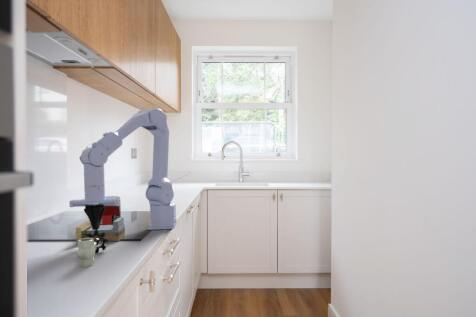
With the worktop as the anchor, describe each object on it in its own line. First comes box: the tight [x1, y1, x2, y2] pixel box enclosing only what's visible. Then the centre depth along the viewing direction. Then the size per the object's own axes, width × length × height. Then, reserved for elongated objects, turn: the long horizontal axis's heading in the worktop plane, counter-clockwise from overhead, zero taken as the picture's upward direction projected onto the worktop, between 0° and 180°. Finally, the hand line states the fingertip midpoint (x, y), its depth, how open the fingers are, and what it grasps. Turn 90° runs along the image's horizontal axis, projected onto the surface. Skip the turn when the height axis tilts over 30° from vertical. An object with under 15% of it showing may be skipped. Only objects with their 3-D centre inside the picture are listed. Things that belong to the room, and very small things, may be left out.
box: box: [86, 227, 126, 243], centre depth 101 cm, size 10×7×3 cm
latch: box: [75, 219, 92, 242], centre depth 101 cm, size 2×14×5 cm, turn 5°
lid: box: [86, 216, 126, 234], centre depth 101 cm, size 10×7×4 cm, turn 95°
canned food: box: [100, 195, 122, 225], centre depth 118 cm, size 8×8×11 cm
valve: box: [76, 230, 109, 268], centre depth 82 cm, size 7×7×12 cm
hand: (95, 229), depth 95 cm, fingers closed
